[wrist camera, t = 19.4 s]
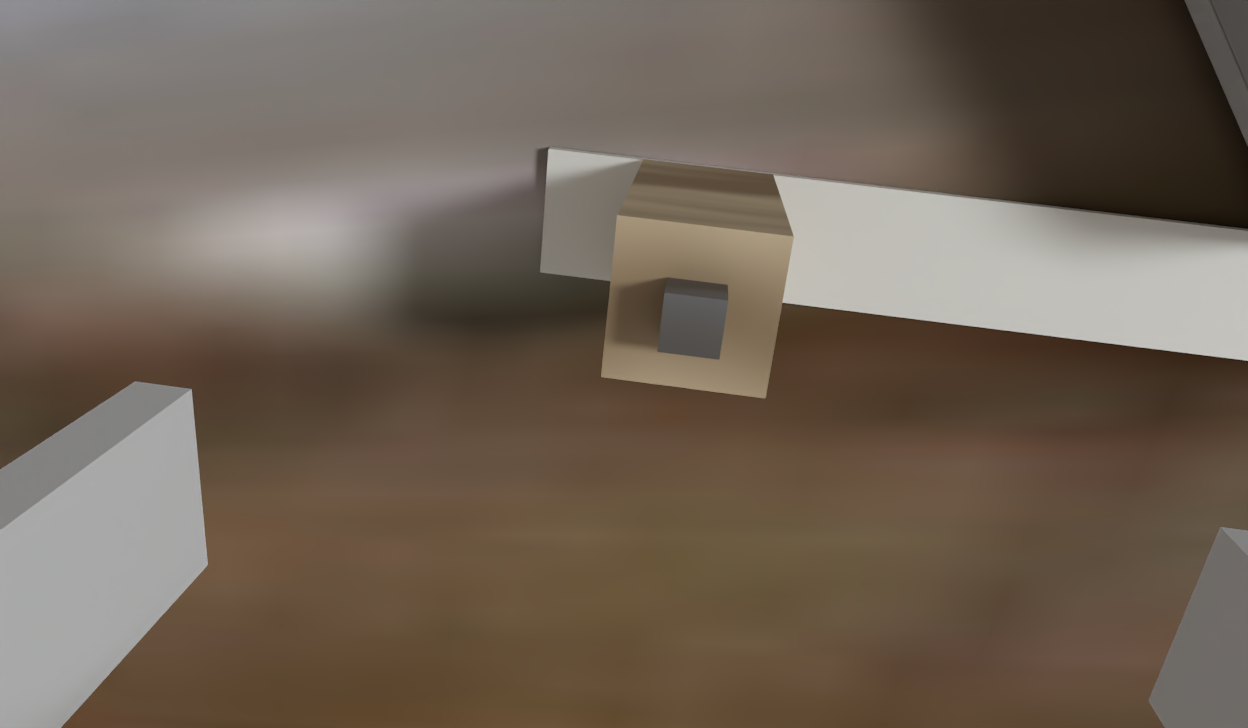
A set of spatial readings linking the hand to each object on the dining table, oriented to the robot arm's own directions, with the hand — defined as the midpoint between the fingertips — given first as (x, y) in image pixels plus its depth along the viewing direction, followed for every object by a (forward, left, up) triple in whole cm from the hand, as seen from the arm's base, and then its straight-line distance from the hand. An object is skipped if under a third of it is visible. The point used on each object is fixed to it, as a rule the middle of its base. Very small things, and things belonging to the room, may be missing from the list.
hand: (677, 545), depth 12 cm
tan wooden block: (0, 0, -18) cm, 18 cm away
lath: (0, +13, -18) cm, 23 cm away
